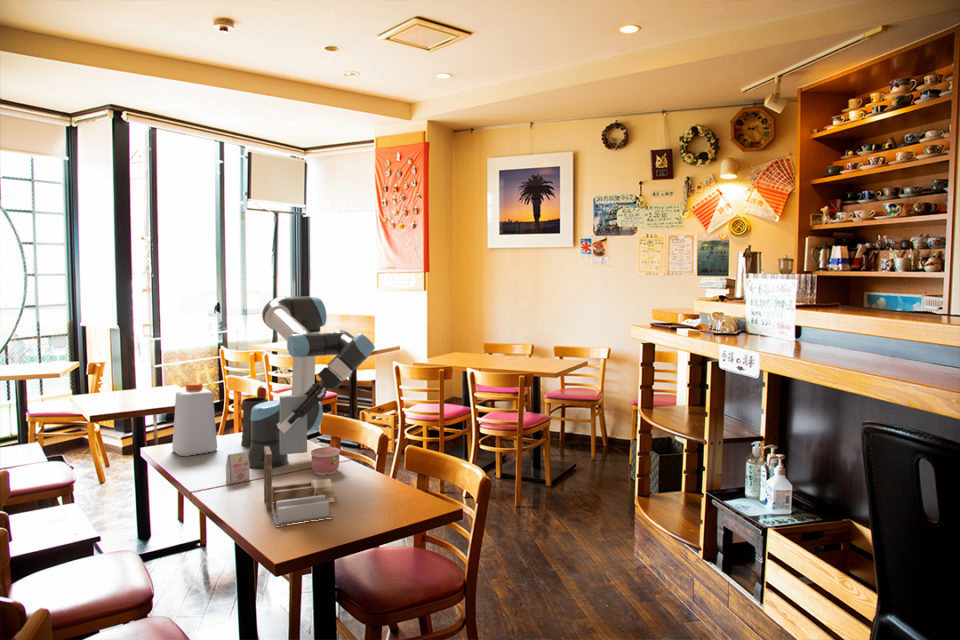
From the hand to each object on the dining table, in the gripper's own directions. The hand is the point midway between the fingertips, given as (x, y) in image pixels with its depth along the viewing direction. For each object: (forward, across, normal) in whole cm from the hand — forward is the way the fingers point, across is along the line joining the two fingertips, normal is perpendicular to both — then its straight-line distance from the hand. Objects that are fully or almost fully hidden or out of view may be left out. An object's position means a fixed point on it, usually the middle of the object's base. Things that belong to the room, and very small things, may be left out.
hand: (280, 429), depth 181 cm
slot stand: (+13, -14, -20) cm, 28 cm away
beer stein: (+19, +76, -16) cm, 80 cm away
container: (+4, +28, -30) cm, 41 cm away
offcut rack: (+13, 0, -21) cm, 24 cm away
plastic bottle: (+36, +76, +1) cm, 84 cm away
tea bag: (+25, +28, -9) cm, 39 cm away
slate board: (+3, 0, -8) cm, 9 cm away
